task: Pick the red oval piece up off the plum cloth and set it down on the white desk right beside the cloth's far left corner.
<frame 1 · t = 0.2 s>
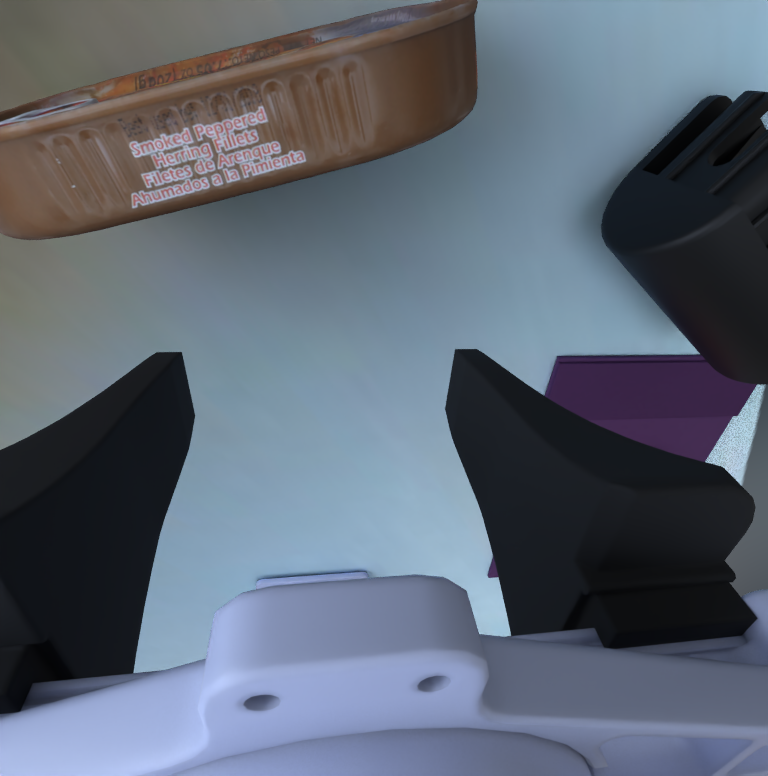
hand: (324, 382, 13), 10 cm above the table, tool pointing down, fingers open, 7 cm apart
tin: (242, 101, 17), on the table
cloth: (606, 480, 32), on the table
end cap: (684, 227, 23), on the table
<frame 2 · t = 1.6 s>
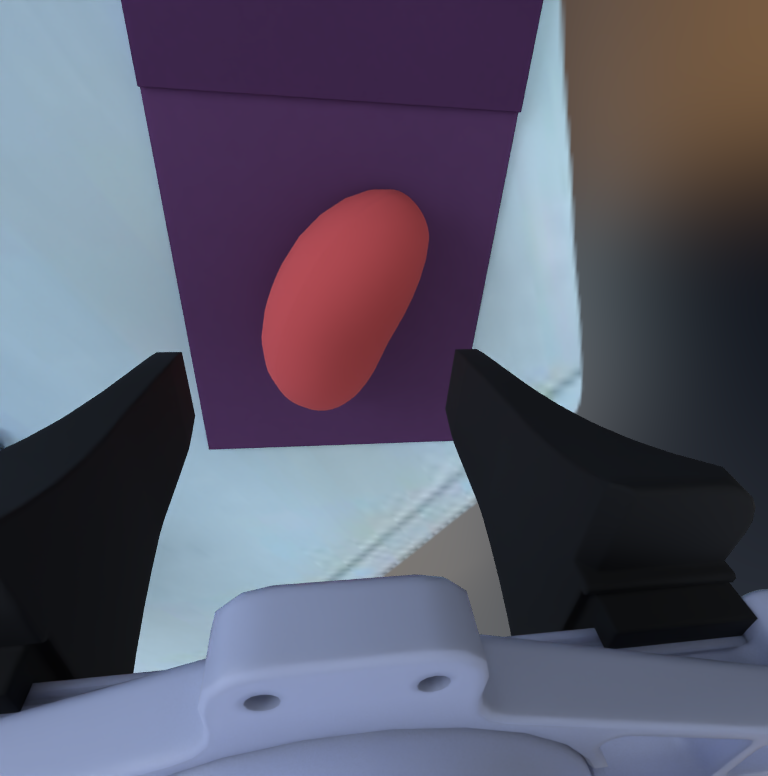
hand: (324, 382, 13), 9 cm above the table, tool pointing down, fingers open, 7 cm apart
cloth: (337, 260, 20), on the table
red oval piece: (337, 284, 20), resting on cloth
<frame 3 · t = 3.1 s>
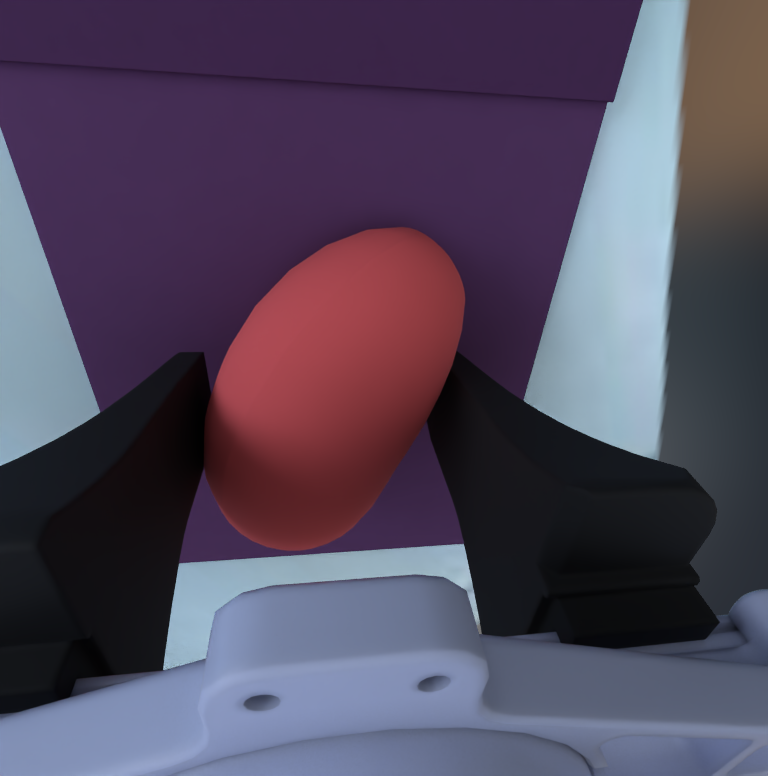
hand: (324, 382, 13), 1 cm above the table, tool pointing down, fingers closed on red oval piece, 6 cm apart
cloth: (323, 325, 13), on the table
red oval piece: (323, 356, 14), resting on cloth, touching gripper
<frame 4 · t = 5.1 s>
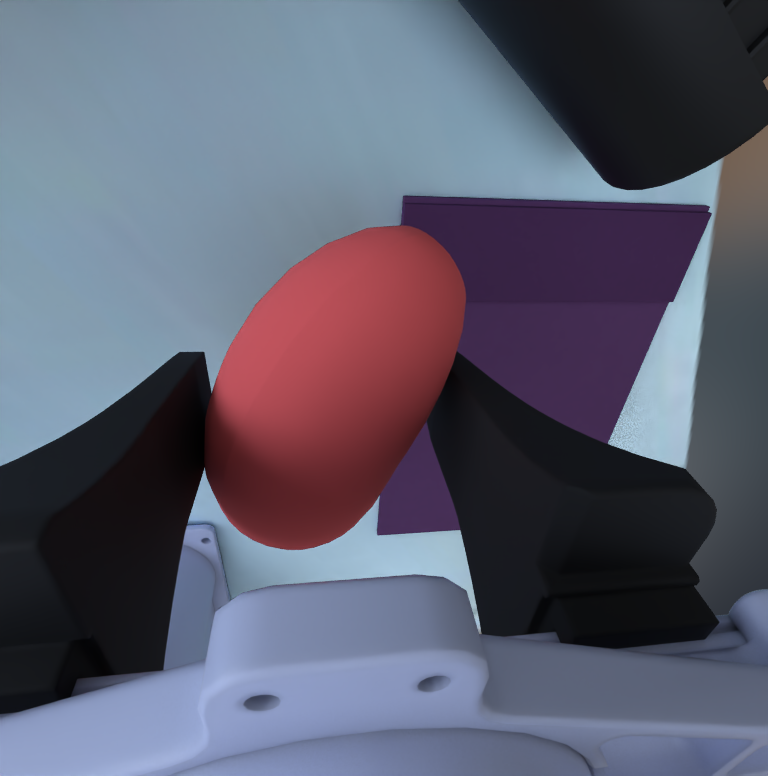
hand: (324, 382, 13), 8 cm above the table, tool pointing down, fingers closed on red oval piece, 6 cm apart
cloth: (509, 400, 25), on the table
red oval piece: (324, 355, 14), point 7 cm above the table, touching gripper
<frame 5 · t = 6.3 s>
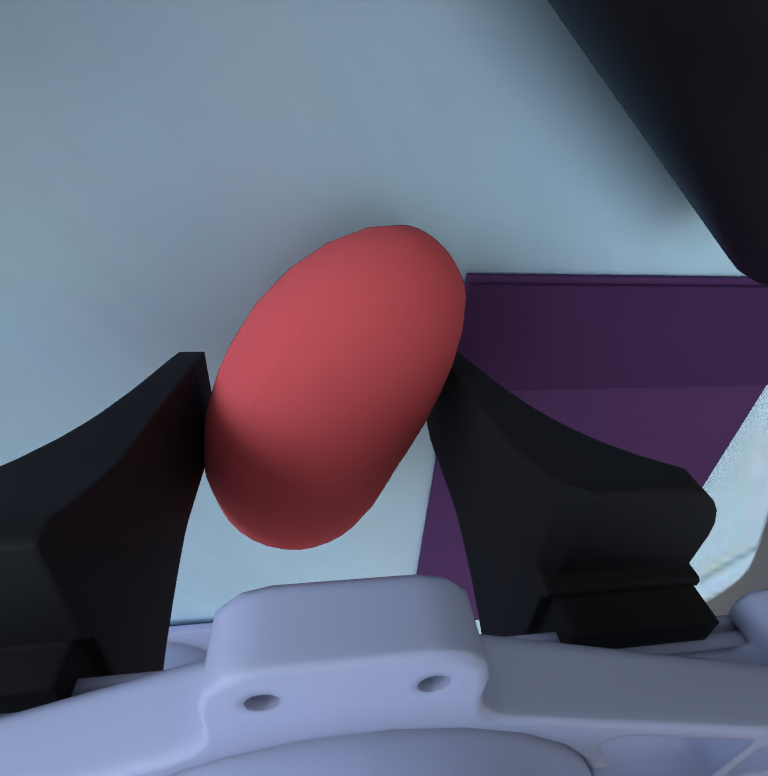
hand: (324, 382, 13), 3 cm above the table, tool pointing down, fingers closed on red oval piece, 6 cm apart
cloth: (570, 488, 21), on the table
red oval piece: (324, 355, 14), point 2 cm above the table, touching gripper
when the fingers open (1 cm above the table, at t = 7.4 s): red oval piece stays where it is, on the table.
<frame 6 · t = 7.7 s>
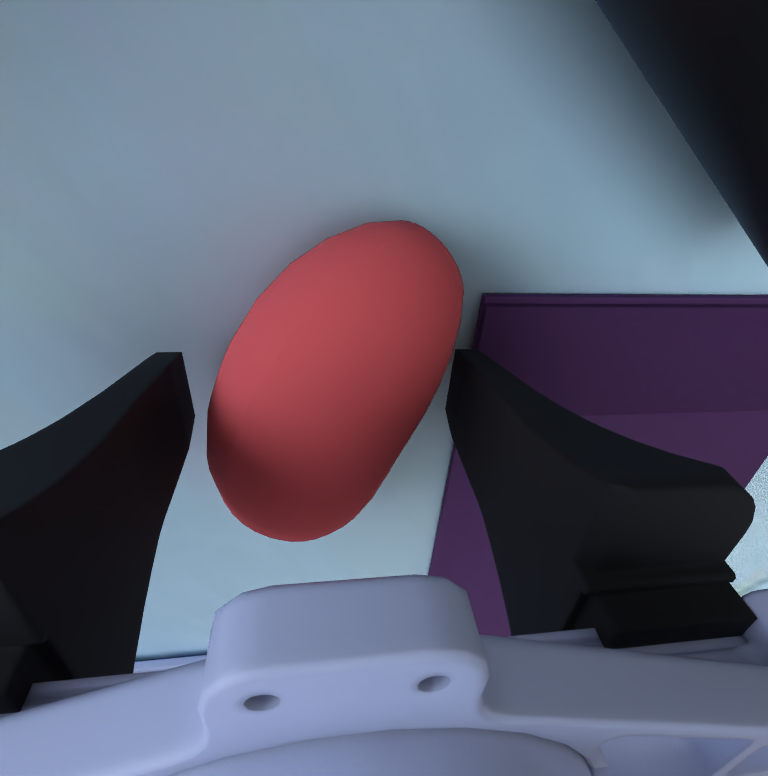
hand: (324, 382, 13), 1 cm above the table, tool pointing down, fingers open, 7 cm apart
cloth: (587, 515, 20), on the table
red oval piece: (324, 350, 14), on the table
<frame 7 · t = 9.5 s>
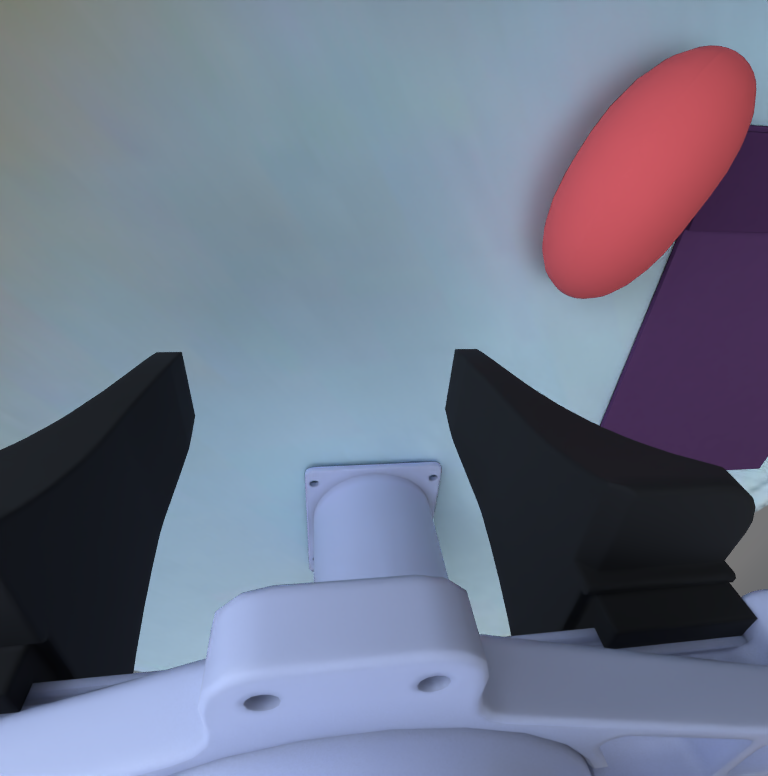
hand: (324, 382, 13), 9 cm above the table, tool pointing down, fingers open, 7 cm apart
cloth: (744, 338, 26), on the table
red oval piece: (605, 169, 20), on the table
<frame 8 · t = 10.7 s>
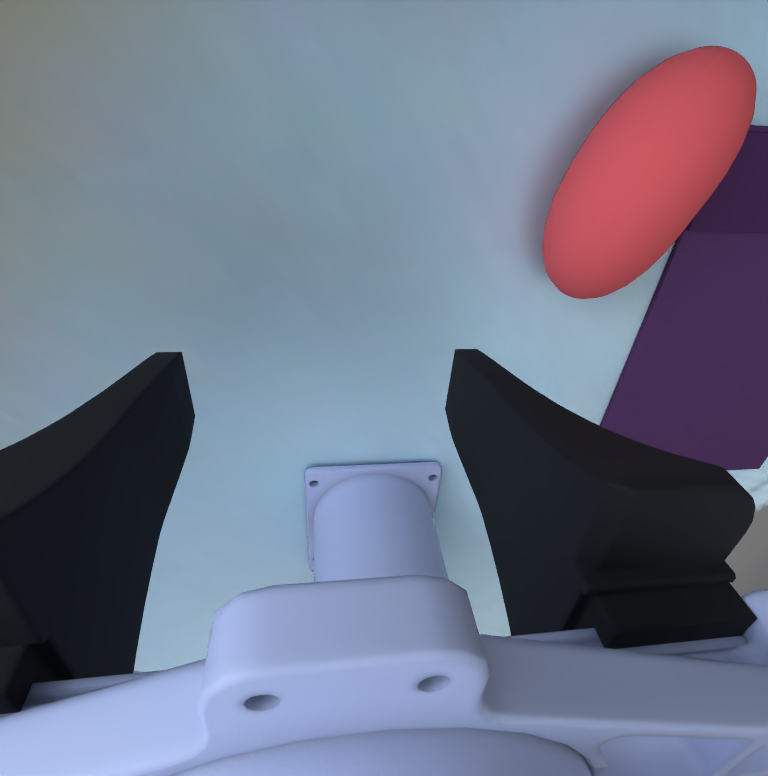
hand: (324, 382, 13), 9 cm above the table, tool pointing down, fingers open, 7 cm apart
cloth: (744, 338, 26), on the table
red oval piece: (605, 169, 20), on the table
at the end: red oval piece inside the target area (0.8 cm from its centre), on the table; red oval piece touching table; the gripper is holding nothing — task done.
